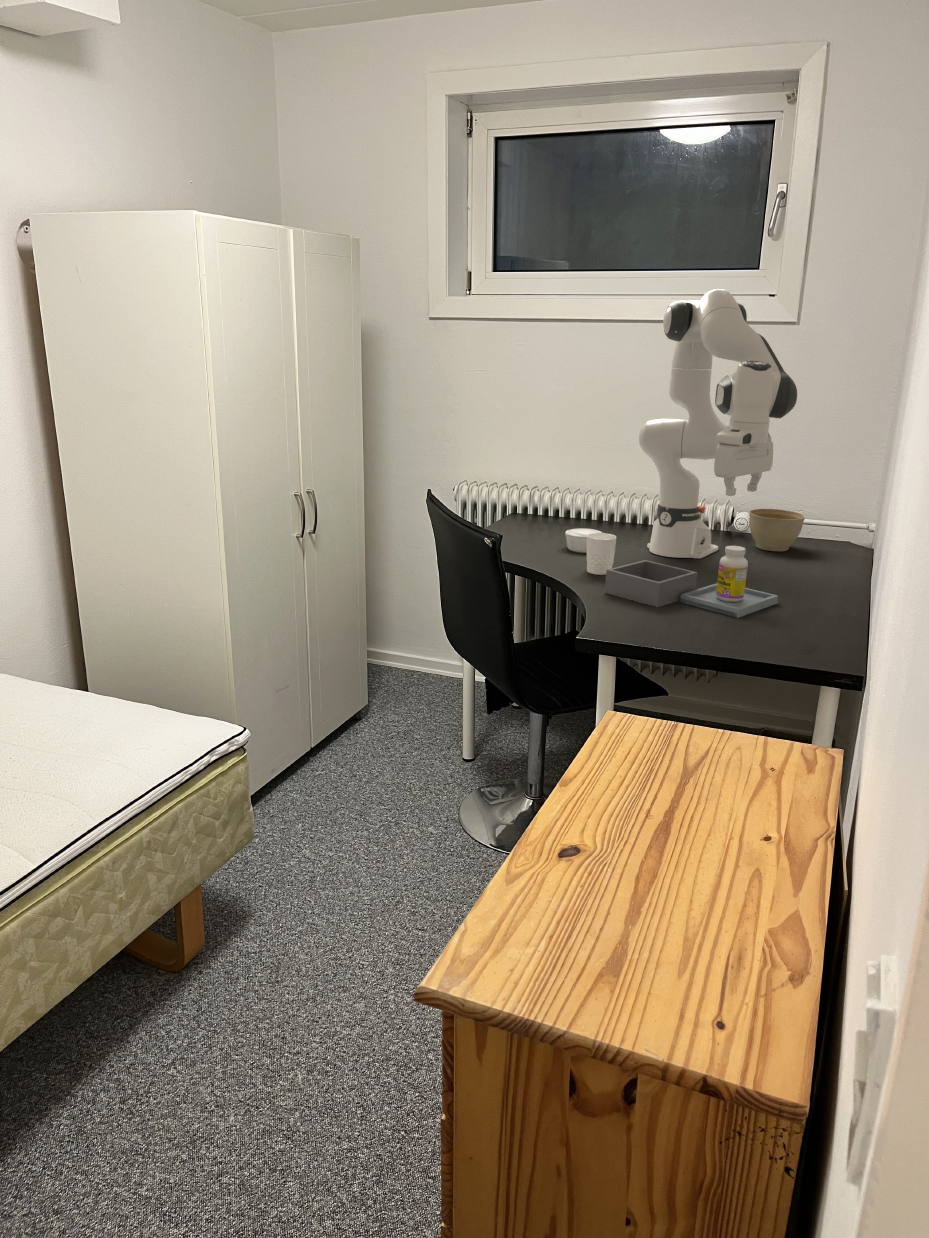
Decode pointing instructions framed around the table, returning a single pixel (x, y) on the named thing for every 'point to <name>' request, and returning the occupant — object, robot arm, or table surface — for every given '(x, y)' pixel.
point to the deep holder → (650, 582)
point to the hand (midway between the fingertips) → (741, 493)
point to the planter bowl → (775, 528)
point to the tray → (736, 609)
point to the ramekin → (578, 539)
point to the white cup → (600, 552)
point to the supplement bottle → (732, 575)
